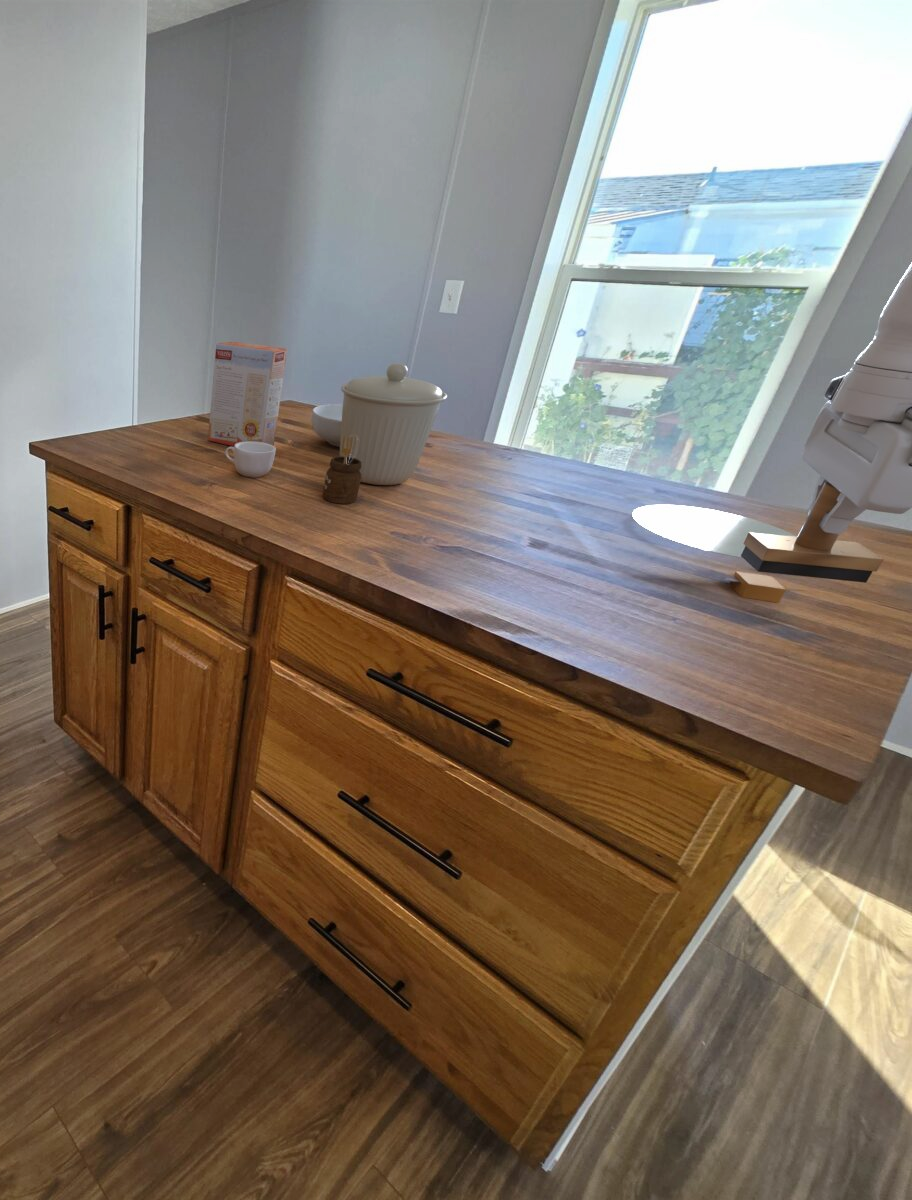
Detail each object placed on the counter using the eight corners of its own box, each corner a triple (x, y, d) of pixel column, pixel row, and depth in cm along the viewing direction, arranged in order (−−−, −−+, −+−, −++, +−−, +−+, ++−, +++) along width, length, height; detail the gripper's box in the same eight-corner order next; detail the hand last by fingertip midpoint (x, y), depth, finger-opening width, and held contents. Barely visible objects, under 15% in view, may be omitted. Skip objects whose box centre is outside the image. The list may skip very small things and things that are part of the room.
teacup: (278, 473, 128) (282, 446, 126) (262, 483, 123) (265, 455, 120) (232, 463, 133) (235, 437, 131) (214, 472, 128) (217, 445, 125)
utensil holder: (359, 496, 117) (373, 430, 112) (352, 507, 113) (367, 438, 107) (325, 490, 120) (337, 425, 114) (318, 501, 115) (330, 433, 109)
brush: (756, 572, 75) (797, 489, 71) (737, 555, 79) (774, 475, 75) (869, 584, 72) (920, 497, 67) (844, 565, 76) (890, 482, 71)
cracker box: (274, 448, 143) (289, 347, 133) (259, 454, 139) (273, 350, 129) (222, 436, 151) (231, 339, 141) (206, 440, 147) (215, 342, 137)
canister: (337, 457, 138) (357, 352, 127) (429, 472, 130) (458, 361, 120) (315, 482, 124) (335, 366, 114) (416, 500, 116) (448, 377, 106)
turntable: (783, 530, 107) (788, 521, 106) (828, 583, 90) (834, 574, 89) (622, 504, 116) (625, 496, 116) (635, 548, 100) (639, 539, 99)
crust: (764, 589, 88) (771, 576, 88) (778, 602, 85) (786, 589, 84) (728, 584, 90) (735, 571, 89) (741, 597, 86) (748, 584, 85)
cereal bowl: (292, 442, 148) (297, 410, 144) (332, 429, 158) (338, 399, 154) (361, 459, 137) (368, 426, 133) (399, 445, 147) (407, 413, 143)
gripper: (997, 424, 57) (900, 566, 64) (900, 385, 73) (830, 502, 79) (898, 414, 60) (815, 551, 67) (824, 378, 75) (763, 492, 82)
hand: (822, 524), depth 73 cm, fingers closed on brush, 3 cm apart
